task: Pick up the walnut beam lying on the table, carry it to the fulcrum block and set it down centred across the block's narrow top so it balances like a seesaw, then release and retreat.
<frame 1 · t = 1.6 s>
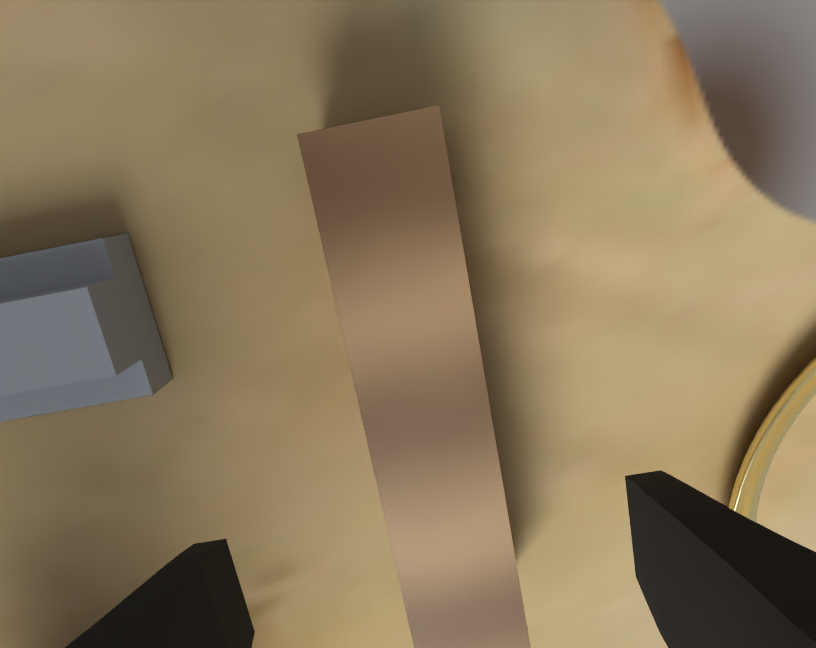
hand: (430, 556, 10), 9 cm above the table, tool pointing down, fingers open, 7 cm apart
beam: (426, 373, 20), on the table
fulcrum: (23, 332, 19), on the table
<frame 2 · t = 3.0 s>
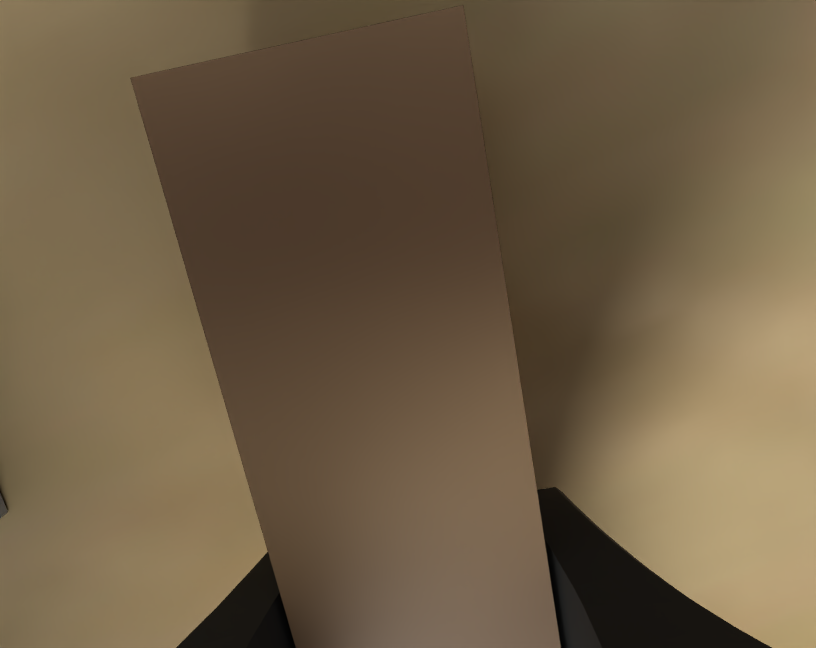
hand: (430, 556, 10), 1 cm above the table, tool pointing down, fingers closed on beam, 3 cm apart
beam: (429, 507, 12), on the table, touching gripper
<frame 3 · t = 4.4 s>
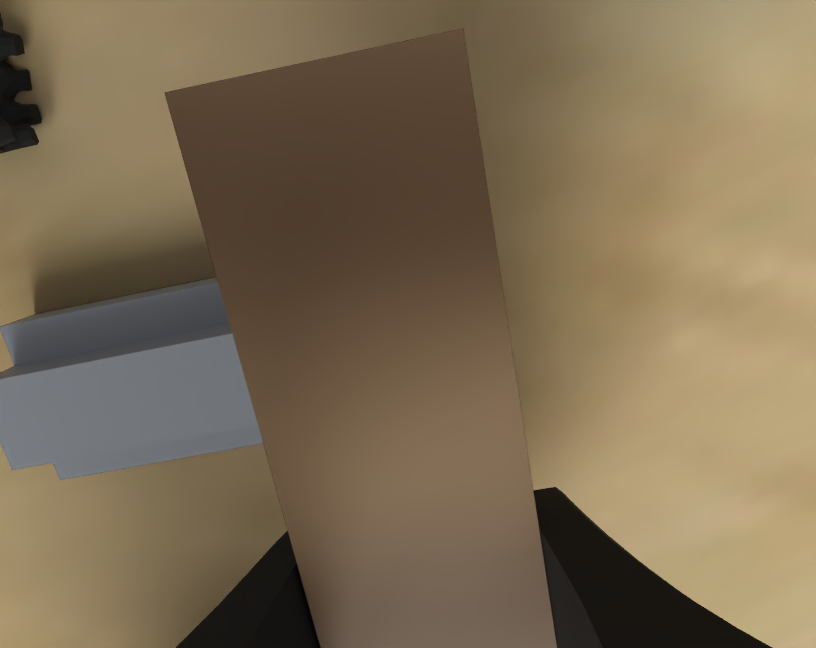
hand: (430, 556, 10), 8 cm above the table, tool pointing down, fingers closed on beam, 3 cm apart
beam: (430, 488, 12), point 6 cm above the table, touching gripper
fulcrum: (193, 362, 18), on the table
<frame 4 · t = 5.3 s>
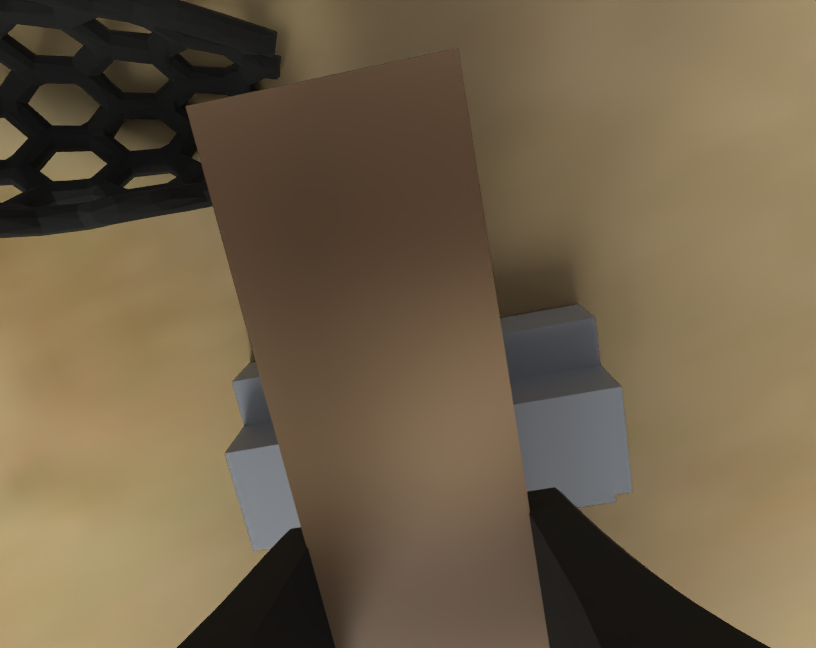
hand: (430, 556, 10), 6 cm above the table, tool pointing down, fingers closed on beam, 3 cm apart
beam: (429, 476, 13), point 3 cm above the table, touching gripper
fulcrum: (427, 418, 16), on the table
when the fingers open (5 cm above the table, at t = 5.8 s): beam stays where it is, resting on fulcrum.
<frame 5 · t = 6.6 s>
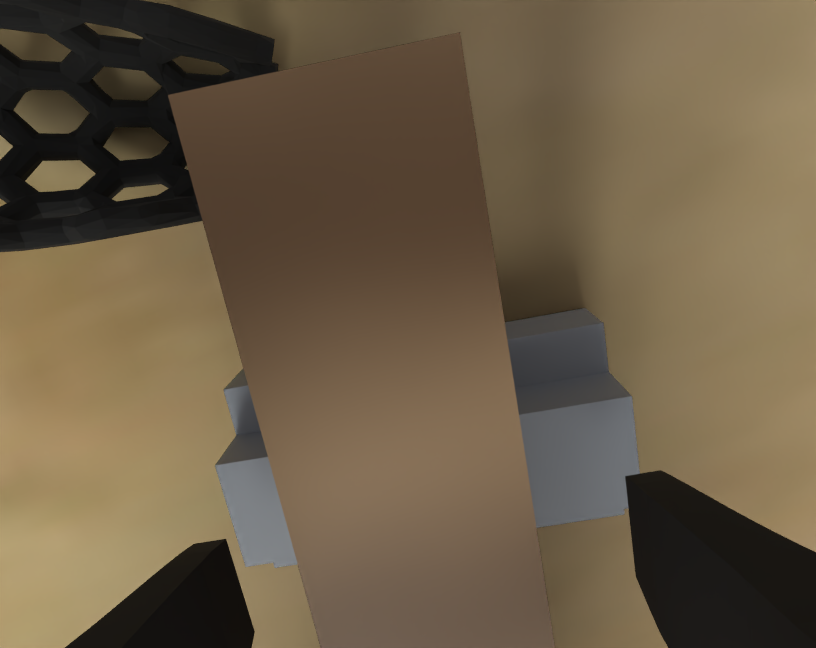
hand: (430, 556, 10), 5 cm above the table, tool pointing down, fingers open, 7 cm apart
beam: (429, 488, 12), point 3 cm above the table, touching fulcrum
fulcrum: (427, 427, 15), on the table
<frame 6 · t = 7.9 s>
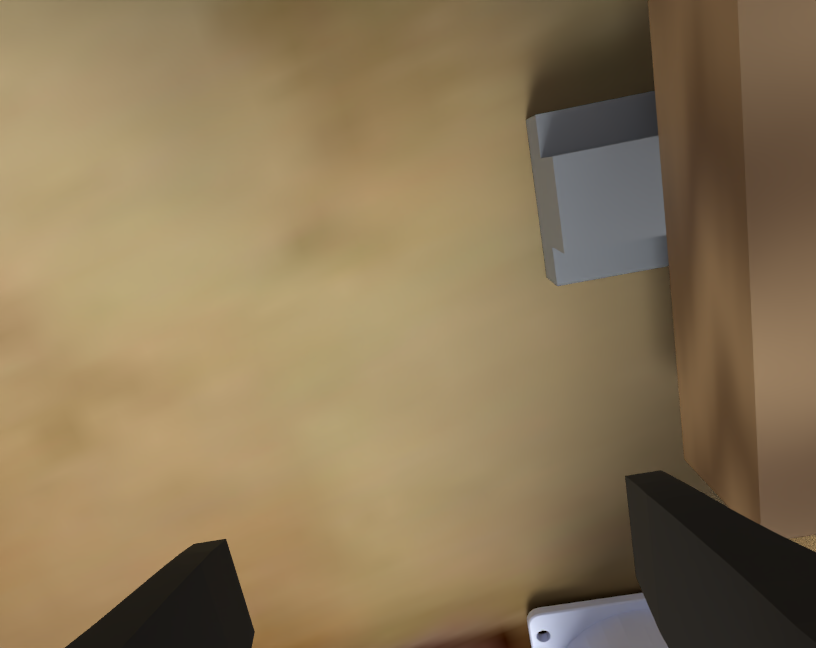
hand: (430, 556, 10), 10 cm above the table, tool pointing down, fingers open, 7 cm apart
beam: (730, 176, 15), point 3 cm above the table, touching fulcrum
fulcrum: (679, 173, 18), on the table
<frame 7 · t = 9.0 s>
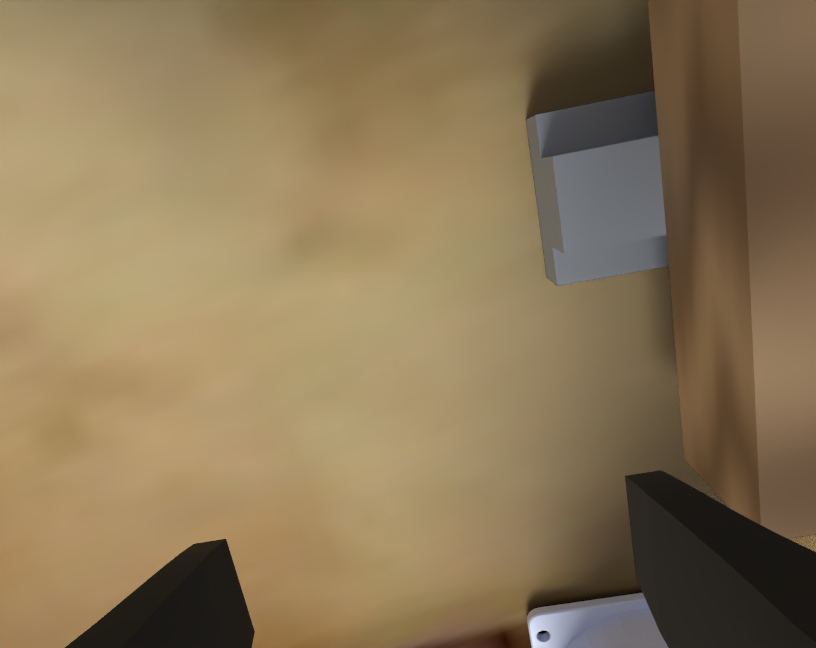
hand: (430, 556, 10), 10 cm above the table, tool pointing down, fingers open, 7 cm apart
beam: (730, 176, 15), point 3 cm above the table, touching fulcrum
fulcrum: (679, 173, 18), on the table
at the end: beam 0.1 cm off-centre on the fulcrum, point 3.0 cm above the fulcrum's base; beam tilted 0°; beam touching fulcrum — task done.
